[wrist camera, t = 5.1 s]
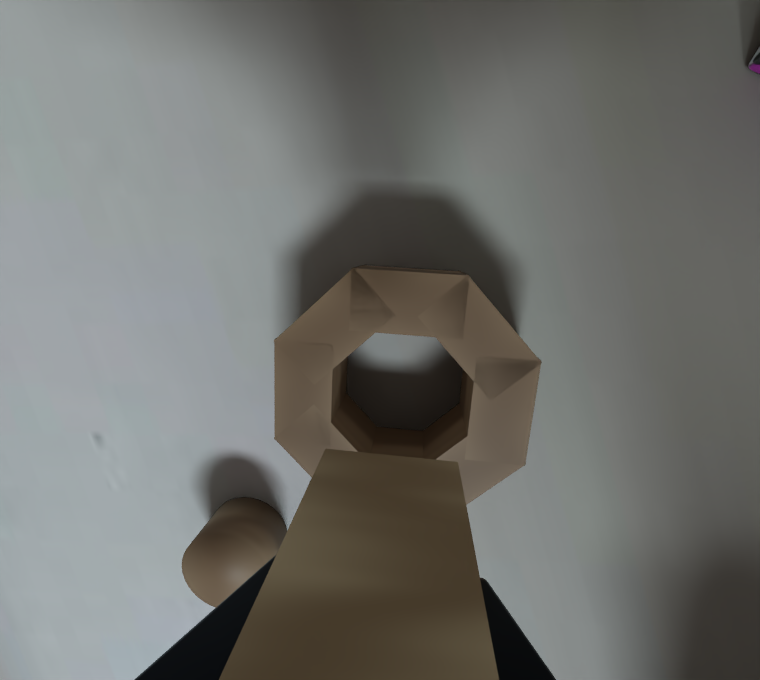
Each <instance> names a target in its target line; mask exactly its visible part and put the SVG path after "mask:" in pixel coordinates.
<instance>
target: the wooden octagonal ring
mask: <svg viewBox="0 0 760 680" xmlns="http://www.w3.org/2000/svg"><path fill="white" fill-rule="evenodd" d="M375 332H376V333H389V334H402V335H415V336H428V337H436V338H437V340H438V341H439V342H440V343H441V344H442V345H443V346H444V348H445V349H446V350H447V351H448V352H449V353H450V355H451V356H452V357H453V358H454V359H455V360H456V361H457V363H458V364H459V365H460V366H461V367H462V368H463V373H462V382H461V391H460V400H459V404H458V405H456V406H455V407H454V408H452V409H451V410H450V411H449V412H447V413H446V414H445V415H443V416H442V417H441V418H439V419H438V420H437V421H435V422H434V423H433V424H431V425H430V426H429V427H427V428H426V429H425V430H423V431H417V430H407V429H397V428H387V427H377V426H376V425H375V424H374V423H373V422H372V421H371V419H370V418H369V417H368V416H367V415H366V414H365V413H364V412H363V411H362V410H361V409H360V407H359V406H358V405H357V404H356V403H355V402H354V401H353V400H352V399H351V398H350V397H349V396H348V394H347V393H346V389H347V365H348V356H349V355H350V354H351V353H352V352H353V351H354V350H356V349H357V348H358V347H359V346H360V345H361V344H363V343H364V342H365V341H366V340H367V339H368V338H370V337H371V336H372V335H373V334H374V333H375ZM274 342H275V437H274V439H275V440H276V441H277V442H278V443H279V444H280V445H281V446H282V447H283V448H284V449H285V450H286V451H287V452H288V453H289V454H290V455H291V456H292V457H293V458H294V459H295V460H296V462H297V463H298V464H299V465H300V466H301V467H302V468H303V469H304V470H305V471H306V472H307V473H308V474H309V475H310V476H311V477H313V474H314V472H315V470H316V468H317V466H318V464H319V461H320V459H321V457H322V455H323V453H324V451H325V449H335V450H345V451H355V452H364V453H374V454H384V455H394V456H404V457H414V458H424V459H434V460H444V461H454V462H458V465H459V470H460V475H461V481H462V486H463V491H464V497H465V502H466V505H467V504H468V503H470V502H471V501H473V500H474V499H475V498H477V497H478V496H480V495H481V494H483V493H484V492H486V491H487V490H489V489H490V488H492V487H493V486H495V485H496V484H497V483H499V482H500V481H502V480H503V479H505V478H506V477H508V476H509V475H511V474H512V473H514V472H515V471H517V470H518V469H519V468H521V467H522V466H525V464H526V463H525V462H526V456H527V449H528V443H529V437H530V430H531V424H532V417H533V411H534V405H535V398H536V392H537V385H538V379H539V373H540V366H541V360H540V359H539V358H538V357H536V355H535V354H534V353H533V352H532V351H531V349H530V348H529V347H528V346H527V345H526V343H525V342H524V341H523V340H522V339H521V338H520V336H519V335H518V334H517V333H516V332H515V330H514V329H513V328H512V327H511V326H510V324H509V323H508V322H507V321H506V320H505V319H504V317H503V316H502V315H501V314H500V313H499V311H498V310H497V309H496V308H495V307H494V305H493V304H492V303H491V302H490V301H489V299H488V298H487V297H486V296H485V295H484V294H483V292H482V291H481V290H480V289H479V288H478V286H477V285H476V284H475V283H474V282H473V280H472V279H471V278H470V276H469V275H467V274H465V273H463V272H461V271H459V270H458V271H448V270H432V269H417V268H401V267H385V266H369V265H362V266H358V267H353V268H352V269H351V270H350V271H349V272H348V273H347V274H346V275H345V276H344V277H343V278H342V279H341V280H339V281H338V282H337V283H336V284H335V285H334V286H333V287H332V288H331V289H330V290H329V291H328V292H326V293H325V294H324V295H323V296H322V297H321V298H320V299H319V300H318V301H317V302H316V303H315V304H313V305H312V306H311V307H310V308H309V309H308V310H307V311H306V312H305V313H304V314H303V315H302V316H300V317H299V318H298V319H297V320H296V321H295V322H294V323H293V324H292V325H291V326H290V327H289V328H287V329H286V330H285V331H284V332H283V333H282V334H281V335H280V336H279V337H278V338H276V339H275V340H274Z"/></svg>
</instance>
